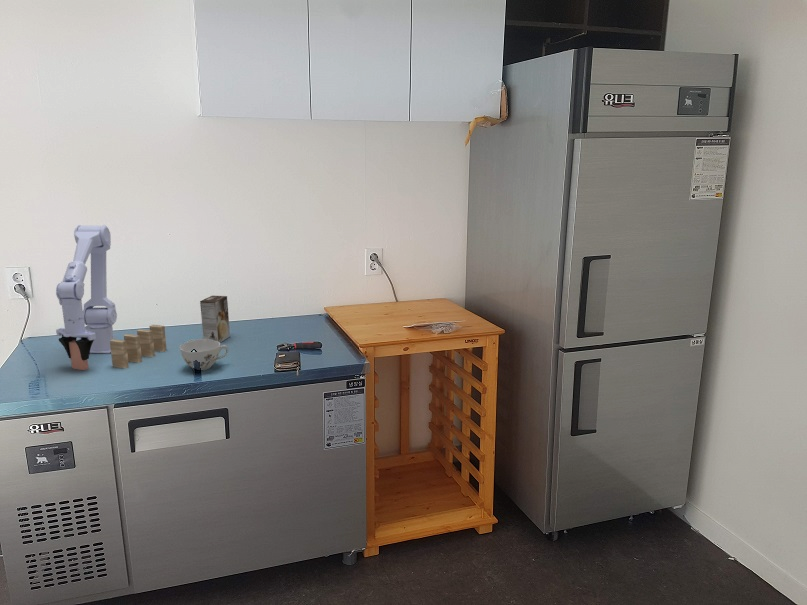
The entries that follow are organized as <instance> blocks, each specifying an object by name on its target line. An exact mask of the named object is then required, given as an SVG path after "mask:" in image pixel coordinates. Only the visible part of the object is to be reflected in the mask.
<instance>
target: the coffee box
mask: <svg viewBox="0 0 807 605" xmlns="http://www.w3.org/2000/svg"><path fill="white" fill-rule="evenodd" d="M199 304H200V305H199V306H200V316H201V327H202V328H201V330H202V339H212V340H215V341H217V342H219V343H220V344H221V343H223V342H224V341H225V340H227V339H229V338H230V337H231V332H230V330H231V329H230V319H229V318H230V317H229V307H228V306H229V302H228V296H226V295H211V296H209V297H205V298H204V299H202V300H200V301H199Z"/></svg>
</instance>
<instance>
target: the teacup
mask: <svg viewBox="0 0 807 605" xmlns="http://www.w3.org/2000/svg"><path fill="white" fill-rule="evenodd" d="M228 347H229V346H228V345H227V344H226V345H225V344H222V345H221V343H219V342H217V341H215V340H212V339H203V338H198V339H192V340H189V341H186V342H184V343H182V344H180V346H179V350H180V353H181V356H182V358H183V360H184V362H185V363H186V364H187V365H188V366H189V367H190V368H192V369H193V361H195V360H197V361H198V362H200V368H201V370H203V371H206V370H209V369H211V367H212V366H214V364H215V363H216V362H217V361H218V360H221V359H223V358H225V357H227V354H229V348H228ZM193 349H195V350H196V351H197V352H191V351H192V350H193ZM223 349H225V353H224V354H222V355H221V356H219V355H220V353H221V351H222V350H223Z"/></svg>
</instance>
